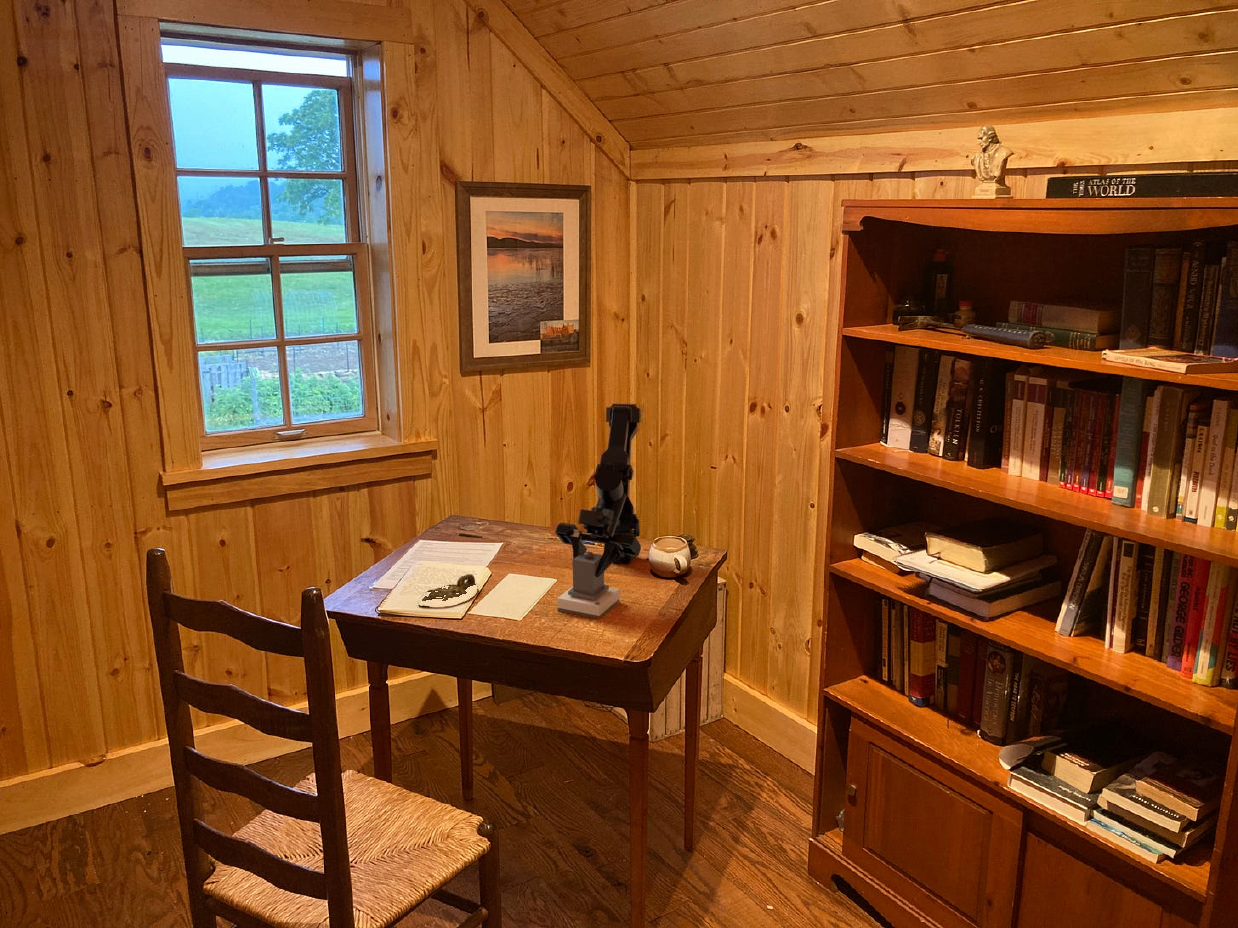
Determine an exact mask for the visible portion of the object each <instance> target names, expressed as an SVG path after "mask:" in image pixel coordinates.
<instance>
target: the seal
mask: <svg viewBox="0 0 1238 928" xmlns="http://www.w3.org/2000/svg"><path fill="white" fill-rule="evenodd" d="M475 583H476V578H475V576H474V574H471V573H469V574H466V575H465V574H464V575H462V576H461V575H460V577H459V578H458V580H457V583H456V584H447V585H444V587H445V586H449V587H448V589H446V588H443V589H442V587H443V586H440V587H441V588H440V587H437V588H434V589H428V590H427V592H431V593H430V594H429V596H428V597H427V596H425V597H424V598H423V599H422V601H426V600H432V599H443V598H444V599H443V600H442V601H446V600H448V598H453V597H459V596H460V595H462V594H466V593H467V592H466V591H465V590H466V589H467V588H468V587H470V586H473V585H476V584H477V583H476V584H475ZM435 591H438V592H435ZM456 593H459V594H456ZM444 595H446V596H445V597H444ZM436 597H442V598H436Z"/></svg>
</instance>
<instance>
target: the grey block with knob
mask: <svg viewBox="0 0 1238 928" xmlns="http://www.w3.org/2000/svg"><path fill="white" fill-rule="evenodd" d="M602 555H603V554H597V553H593V552H592V551H586V552H583V553H581V554H580V555H578V556H577V557H576V558H574V559H573V558H572V587H573V588H572V589H571V590H569V589H568V590H569V591H568V595H571V596H576V597H581V598H586V599H591V600H596V599H598V598H599V597H600V596H601V595H602V594H604V593H605V592H606V591H607V590H608V589H609V587H610V585H607V584H605V571H604V572H603V573H602V574H601V575H600V576H599V577H596V571H597V567H598V565H599V562H600V560H601V557H602Z"/></svg>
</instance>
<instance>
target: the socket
mask: <svg viewBox="0 0 1238 928" xmlns="http://www.w3.org/2000/svg"><path fill="white" fill-rule="evenodd" d="M572 588H573V586H571V587H570V588H569V589H568V590H566V591H565V592H564V593H562V594H561V595H560V596H558V597H557V599H556V600H557V611H558V612H562V613H565V614H570V615H571V614H572V615H576V616H581V617H584V618H585V617H586V618H591V619H595V620H600V619H602V618H603V616H605V615H606V614H607V613H609V612H610V611H611V610H612V609H613V608H614V607H615V606H617V605H618V604H619V603H620V589H619V588H614V587H610V586H609V589H608V590H607V591H606V592H605V593H604V594H602V595H601V596H600V597H599V598H598V599H596V600H591V599H586V598H581V597H576V596H571V595H568V591H569V590H571V589H572Z"/></svg>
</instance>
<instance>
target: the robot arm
mask: <svg viewBox="0 0 1238 928" xmlns="http://www.w3.org/2000/svg"><path fill="white" fill-rule="evenodd" d="M605 422H606V423H608V427H609V434H608V443H607V449H606V450H604V452H602V453H601V455H600V461H599V463H597V464H596V469H595V471H594V477H593V478H594V482H595V487H596V493H597V496H598V499H597V502H596V504H595V506H593V507H592V508H591V509H590V510H589V509H583V508H580V511H579V516H578V520H577V521H578V522H577V524H579V525H583V526H582V527H583V529H584V530H586V531H582V530H580V529H579V528H578V527H577V526H576V524H575V523H574V524H573V523H568V522H560V523H558V524H557V525H556V528H555V531H554V533H555V535H556V536H557V537H558V539H559V540H560V541H561V542H562V543H563V544H565V545H571V546H572V547H571V548H572V560H573V559H574V558H576V557H577V556H578V555H580V554H581V553H583V552H588V551H587V550H588V548H587V547H586V546H585V542H591V543H597V544H602V545H603V546H604V547H603V553H602V554H601V555H602V557H601V560H600V562H599V565H598V567H597V571H596V577H599V576H600V575H601V574H602V573H603V572H604V573H605V571H607V569H608V568H610V566H611V565H612V564H613V563H614V564H615V563H617V564H623V565H630V563H631V562H632V560H634V559H635V557H638V556H640V552H641V550H642V547H641V542H639V540H638V539H637V537H640V535H641V534H640V533H641V526H640V520H639V518H638V515H637V513H635V507H634V504H633V502H632V501H631V499H630V482H631V481H632V480H633V478H634V471H635V470H634V469H633V466H632V464H631V458H632V440H633V439H634V438H635V436H636V435H637V433H638V432H639V425H640V423H642V408H641V407H638V405H637V403H611V406H609V407H608V406H607V407H605Z"/></svg>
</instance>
